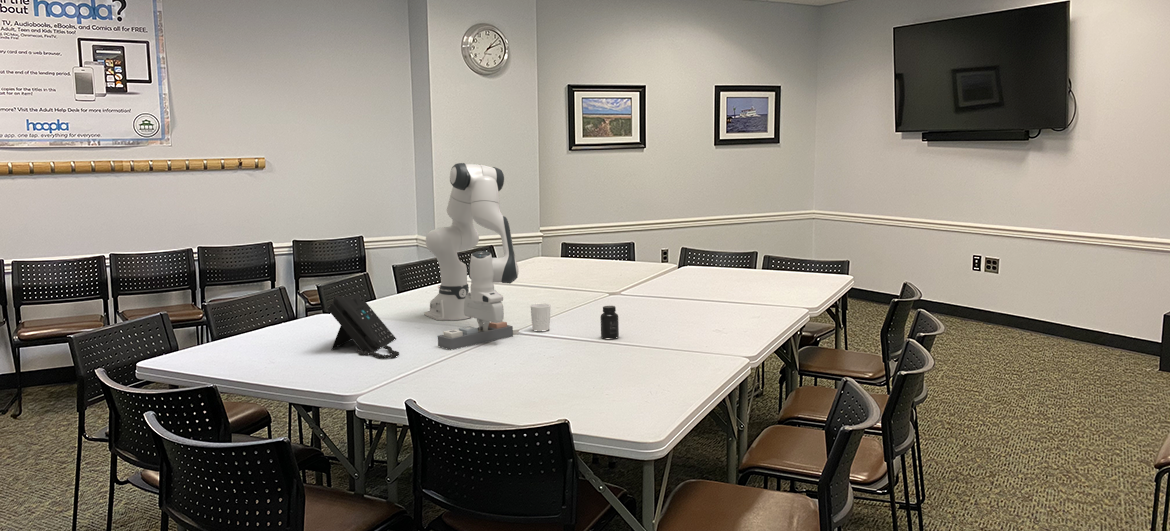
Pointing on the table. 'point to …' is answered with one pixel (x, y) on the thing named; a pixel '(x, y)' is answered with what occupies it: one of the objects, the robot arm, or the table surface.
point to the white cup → (540, 316)
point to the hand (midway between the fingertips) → (483, 330)
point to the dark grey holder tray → (475, 337)
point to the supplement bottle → (609, 322)
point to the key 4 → (498, 324)
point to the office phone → (360, 326)
